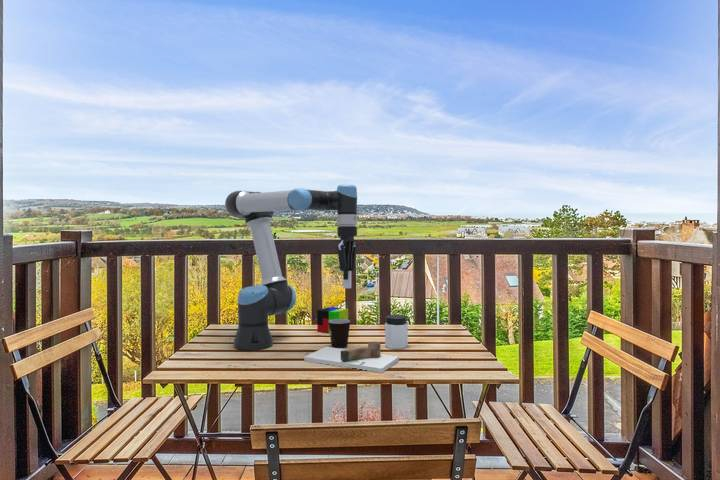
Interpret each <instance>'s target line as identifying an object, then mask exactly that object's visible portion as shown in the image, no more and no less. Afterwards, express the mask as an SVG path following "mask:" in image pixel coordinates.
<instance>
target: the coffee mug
mask: <svg viewBox="0 0 720 480" xmlns="http://www.w3.org/2000/svg"><path fill="white" fill-rule="evenodd" d="M350 326H351V320H349V319H348V320H346V319H333V320H329V329H330V334H329V337H330V345H331V346H330V347H332V348H339V349H345V348H347V347H348V346H349V336H350Z"/></svg>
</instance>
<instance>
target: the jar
mask: <svg viewBox="0 0 720 480" xmlns="http://www.w3.org/2000/svg"><path fill="white" fill-rule="evenodd" d="M407 318H408V317H407V315H403V314H388V315H386V316H385V323H384V346H385V347H386V348H388V349H390V350H403V349H406V348H408V345H409V343H408V341H409V340H408V339H409V337H408V334H409V333H408V332H409V331H408V327H409V324H408V322H407V321H408V320H407Z"/></svg>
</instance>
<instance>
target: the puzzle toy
mask: <svg viewBox="0 0 720 480" xmlns="http://www.w3.org/2000/svg"><path fill="white" fill-rule="evenodd" d="M316 312H317V314H316V315H317V316H316V317H317V319H316V323H317V326H316V327H317V329H316V330H317V332H318V333H322V334H329V335H330V329H329V320H333V319H346V320H349V309H348V308H342V307H336V306H335V307H334V306H329V307H325V308H320V309H317V311H316Z"/></svg>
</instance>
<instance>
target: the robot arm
mask: <svg viewBox="0 0 720 480" xmlns="http://www.w3.org/2000/svg"><path fill="white" fill-rule="evenodd" d="M336 188H337V189H336V190H333V191H331V190H330V191H327V190H326V191H325V190H314V189H308V188H307V189H305V188H294V189H292V190H278V191H264V192H261V191H250V190H249V191H246V190H235V191H232V192H231V193H230V194H228V195H227V197H226V199H225V201H224V202H225V203H224V205H225V206H224V207H225V209H226V211H227V213H228V215H230V216H232V217H234V218H236V219H244V221H245V222H244V223H245V225H246V226H247V227H249V228H250V231H251V237H252V241H253V245H254V246H253V247H254V249H255V254H256V258H257V263H258V268H259V273H260V276H261V281H262V282H261V284H260V285H259V284H258V285H253V286H252V285H250V286H245V287H243V288H241V289H240V290H239V291H238V294H237V295H238V296H237V298H238V299H237V312H238V313H237V315H238V316H237V317H238V318H237V319H238V320H237V321H238V322H237V323H238V325H237V326H238V327H237V330H236V333H235V337H234V340H233V348H234V349H237V350H241V351H258V350H263V349H267V348H270V347H272V346H273V337H272V333H271V330H270V327H269V317H272V316H276V315H280V314H285V313H288V312H290V311H291V310H292V309H293V308H294V305H296V300H297V295H296V291H295V289H294V287H293V286H292V285H290V284H288V280H287V278H285V277H284V276H283V274H282V270H281V269H282V268H281V265H280V260H279V256H278V252H277V248H276V244H275V239H274V236H273V231H272V226H271V223H272V221H273V216H274V215H275V212H280V211H281V212H283V211H284V212H285V211H286V212H287V211H316V212H327V211H328V212H329V211H330V212H331V211H336V214H337V215H336V216H337V217H336V220H337V221H336V222H337V225H338V226H337V228H336V229H337V230H336V231H337V236H338V237H339V244H336V245H335V247H336V250H337V255H338V256H337V257H338V265H339V270H340V271H341V272H343V274H342V276H343V277H342V279H343V281H342V287H343V289H352V272H353V271H355V265H356V257H357V248H358V245H359V244H358V243H356V242H355V237H357V236H358V227H357V226H356V225H358V191H357V190H358V189H357V186H356V185H353V184H338V185H337V186H336Z"/></svg>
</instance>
